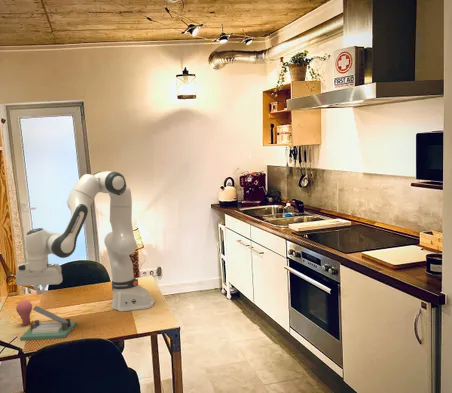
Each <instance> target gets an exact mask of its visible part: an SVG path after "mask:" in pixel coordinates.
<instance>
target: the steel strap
mask: <svg viewBox="0 0 452 393" xmlns="http://www.w3.org/2000/svg"><path fill="white" fill-rule="evenodd" d="M32 311H35V312H37V313H38V314H40V315H42V316H45V317H47V318H49V319H51V320H53V321H57V322H59V323H62V322H67V324H68V323H69V321H68V320H65V319H66V318H63V317H61V316H59V315H57V314H55V313H52V312H51V311H48V310H46V309H44V308H43V307H40V306H39V305H35V306H34V307H32Z"/></svg>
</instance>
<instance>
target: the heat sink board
mask: <svg viewBox="0 0 452 393" xmlns="http://www.w3.org/2000/svg"><path fill="white" fill-rule="evenodd" d="M64 319H65V320H68V321H69V323H68V324H67V322H62V323H59V322H57V321H55V320H53V321H40V320H39V319H35V320H34V323H31V324H30V328H28V329H27V331H25V332H24V333H23V334H22V335H21V336H19V340H21V341H38V340H40V341H41V340H55V339H56V340H58V339H66V337H67V336H68V335H69V334H70V333H71V332H72V331H73V330H74V328H75V327H76V326H77V325H78V321H77V320H74V321H71V318H69V317H68V318H64Z"/></svg>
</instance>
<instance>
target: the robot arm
mask: <svg viewBox="0 0 452 393" xmlns="http://www.w3.org/2000/svg"><path fill="white" fill-rule="evenodd" d="M99 193H102V194H108V196H109V199H110V201H109V223H110V226H111V231H110V232H108V233H107V234H106V235H105V237H104V245H105V248H106V252H107V256H108V260H109V263H110V264H109V265H110V268H111V277H112V278H111V289H112V303H111V308H112V309H113V310H117V311H118V312H129V311H137V310H138V311H139V310H146V309H150V308H152V307H154V305H155V303H156V301H155V298H153V297H151V295H150V292H149V290H148V289H146V288H145V287H143V286H141V285H140V284H139V278H135V274H134V264H133V260H132V259H131V257H130V256H131V255H133V254H134V253H135V252H136V250H137V247H138V246H137V241H136V239H135V235H134V230H133V220H132V218H133V216H132V212H133V210H132V208H133V204H132V203H133V198H132V191H131V188H130V187H129V186H128V185H127V183H126V179H125V175H123V174H122V173H120V172H117V171H110V170H107V171H97V172H95V173H93V174H89V173H84V174H83V175H81V177H80V178H79V179H78V181H77V182H76V183H75V184H74V186H73V188H72V190H71V191H70V193H69V194H68V198H67V199H66V200H67V201H66V204H67V208H68V209H69V210H70V215H71V216H70V218H69V221H68V223H67V225H66V227H65V229H64V231H63V232H62V233H57V232H53V231H48V230H46V229H44V228H42V227H41V228H39V227H38V228H33V229H31V230H28V231H27V233H26V235H25V251H26V253H27V254H26V255H27V257H26V261H25V262H22V263H20V264H19V265H17V266H16V271H17V272H16V273H15V283H16V286H18V287H26V286H33V289H34V290H35V291H36V295H45V289H46V288H47V285H49V286H50V285H60V284H61V283H62V282H63V274H62V266H61V265H60V264H59V263H49V255H54V256H56V257H58V258H62V259H64V258H69V257H70V256H71V255H73V253H74V252H75V250H76V247H77V242H78V237H79V235H80V233H81V230H82V229H83V226H84V224H85V222H86V219H87V216H88V213H89V210H90V208H91V206H92V205H93V204H92V203H93V202H94V200H95V198H96V196H97V195H98V194H99ZM39 286H41V289H39Z"/></svg>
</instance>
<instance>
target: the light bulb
mask: <svg viewBox="0 0 452 393" xmlns="http://www.w3.org/2000/svg"><path fill="white" fill-rule="evenodd" d="M15 309H16V312H17V314H18V315H19V317H20V319H21V321H22V324H23V325H26V326H27V325H29V324H30V323H31V316H30V315H31V313H32V311H33V304H32V303H31V301H29V300H25V299H23V300H21V301H19V302H18V303H17V305H16V308H15Z"/></svg>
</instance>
